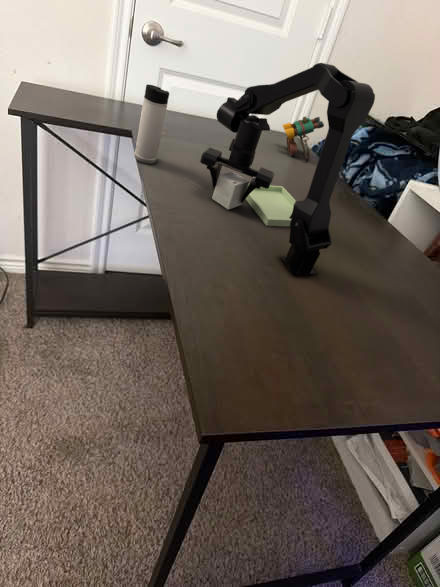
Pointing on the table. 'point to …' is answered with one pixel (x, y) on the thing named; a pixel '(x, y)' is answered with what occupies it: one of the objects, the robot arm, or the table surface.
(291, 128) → the binoculars
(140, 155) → the travel mug
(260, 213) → the tray
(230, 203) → the product carton
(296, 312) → the table surface
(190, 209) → the table surface
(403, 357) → the table surface
